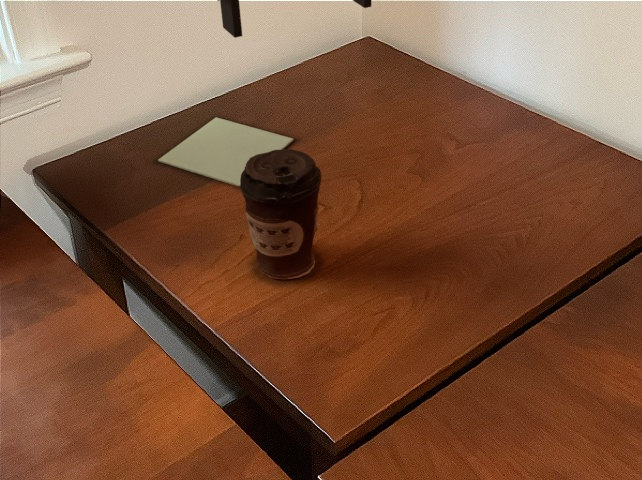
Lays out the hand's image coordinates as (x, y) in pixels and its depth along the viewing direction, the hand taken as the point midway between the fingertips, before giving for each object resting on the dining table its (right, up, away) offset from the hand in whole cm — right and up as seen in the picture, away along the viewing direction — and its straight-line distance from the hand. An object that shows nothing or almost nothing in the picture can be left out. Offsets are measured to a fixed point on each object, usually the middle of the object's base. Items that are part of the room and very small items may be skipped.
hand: (299, 17), depth 78 cm
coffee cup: (-2, -24, +14) cm, 27 cm away
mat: (-12, -8, +33) cm, 36 cm away
